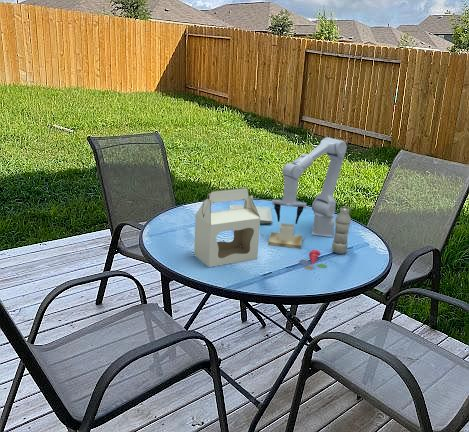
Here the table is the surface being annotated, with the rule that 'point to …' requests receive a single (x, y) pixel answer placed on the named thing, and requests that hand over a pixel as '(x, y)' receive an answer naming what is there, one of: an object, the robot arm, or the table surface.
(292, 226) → the pale matte cube
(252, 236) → the gable box
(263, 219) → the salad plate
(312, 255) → the toy pieces
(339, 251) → the plastic bottle
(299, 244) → the plate
